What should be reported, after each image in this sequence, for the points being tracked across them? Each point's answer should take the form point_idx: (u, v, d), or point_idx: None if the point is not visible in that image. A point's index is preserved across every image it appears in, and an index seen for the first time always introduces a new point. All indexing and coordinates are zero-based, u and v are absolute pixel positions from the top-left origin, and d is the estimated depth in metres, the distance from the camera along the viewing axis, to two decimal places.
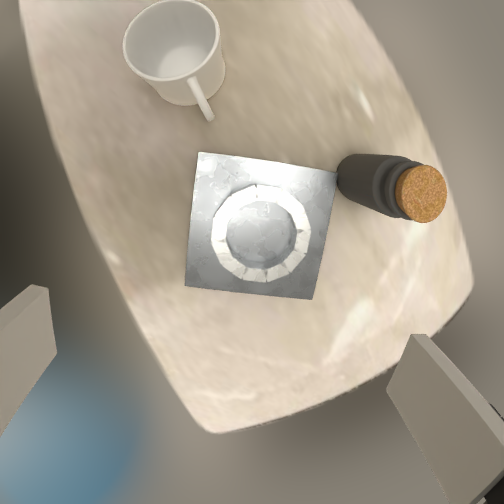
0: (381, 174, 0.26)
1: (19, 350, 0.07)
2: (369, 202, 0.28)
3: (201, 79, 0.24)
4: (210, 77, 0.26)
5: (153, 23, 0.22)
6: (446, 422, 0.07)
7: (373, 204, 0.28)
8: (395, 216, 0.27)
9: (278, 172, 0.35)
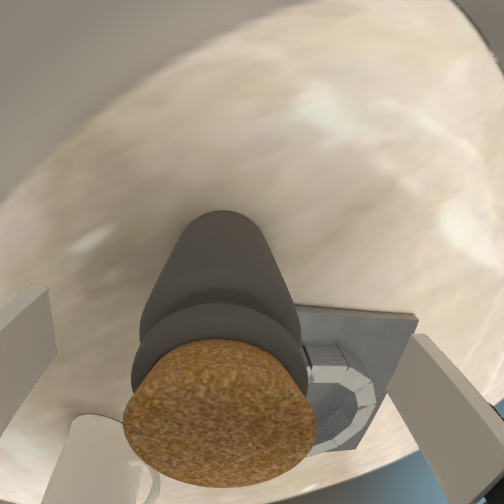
0: None
1: (19, 350, 0.07)
2: None
3: (114, 502, 0.17)
4: (109, 480, 0.18)
5: None
6: (446, 422, 0.07)
7: None
8: None
9: None
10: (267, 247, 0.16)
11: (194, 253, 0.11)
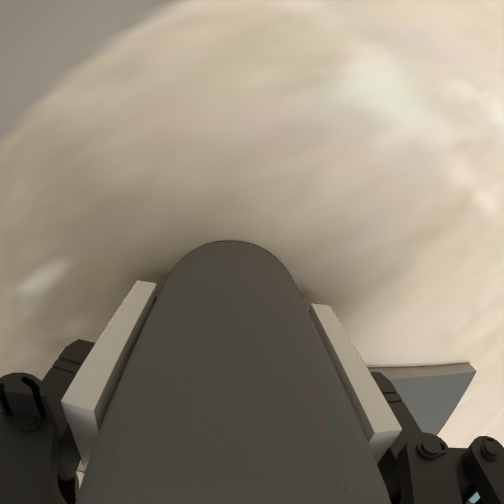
0: None
1: None
2: None
3: None
4: None
5: None
6: None
7: None
8: None
9: None
10: (310, 319, 0.09)
11: (168, 396, 0.04)
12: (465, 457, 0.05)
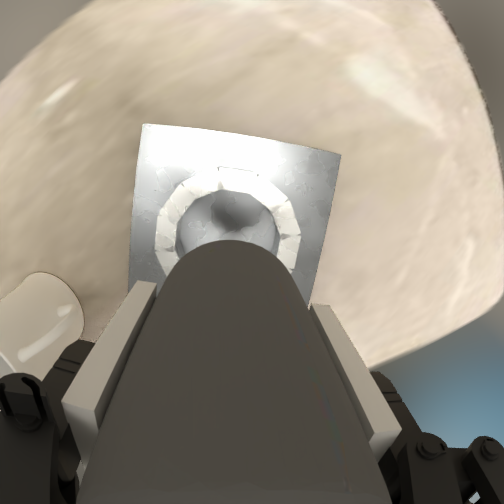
0: None
1: None
2: None
3: (27, 335, 0.19)
4: (30, 316, 0.20)
5: None
6: None
7: None
8: None
9: (145, 210, 0.24)
10: (310, 318, 0.09)
11: (169, 396, 0.04)
12: (465, 456, 0.05)
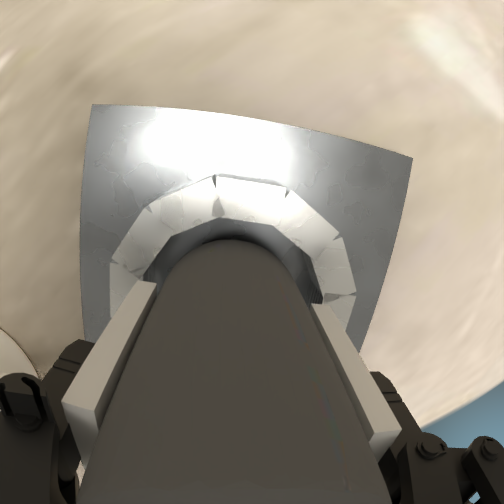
0: None
1: None
2: None
3: None
4: None
5: None
6: None
7: None
8: None
9: (99, 246, 0.14)
10: (310, 318, 0.09)
11: (169, 394, 0.04)
12: (465, 457, 0.05)
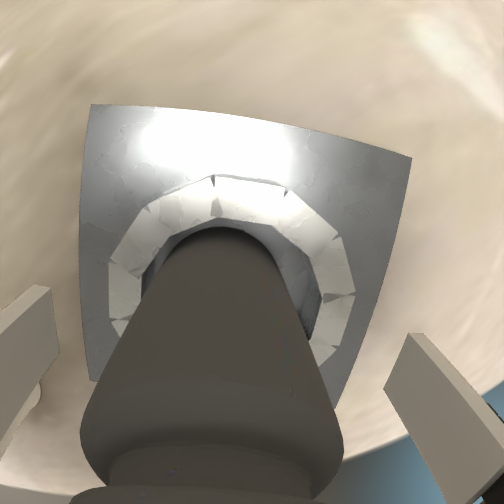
0: None
1: (22, 349, 0.07)
2: None
3: None
4: None
5: None
6: (443, 421, 0.07)
7: None
8: (332, 479, 0.06)
9: (98, 246, 0.14)
10: (285, 290, 0.11)
11: (163, 326, 0.06)
12: None
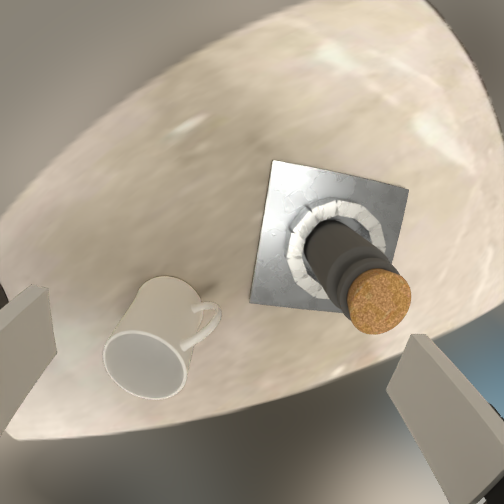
0: None
1: (19, 350, 0.07)
2: None
3: (181, 329, 0.28)
4: (177, 313, 0.30)
5: (127, 365, 0.29)
6: (446, 422, 0.07)
7: None
8: None
9: (273, 227, 0.34)
10: None
11: (347, 241, 0.25)
12: None
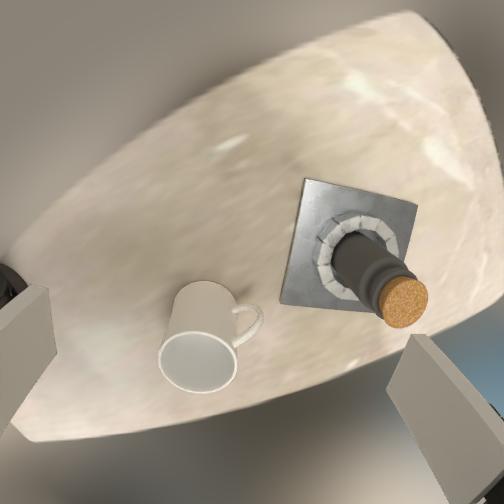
0: None
1: (19, 350, 0.07)
2: None
3: (229, 328, 0.32)
4: (223, 314, 0.34)
5: (175, 364, 0.33)
6: (446, 422, 0.07)
7: None
8: None
9: (304, 237, 0.38)
10: None
11: (374, 252, 0.30)
12: None
